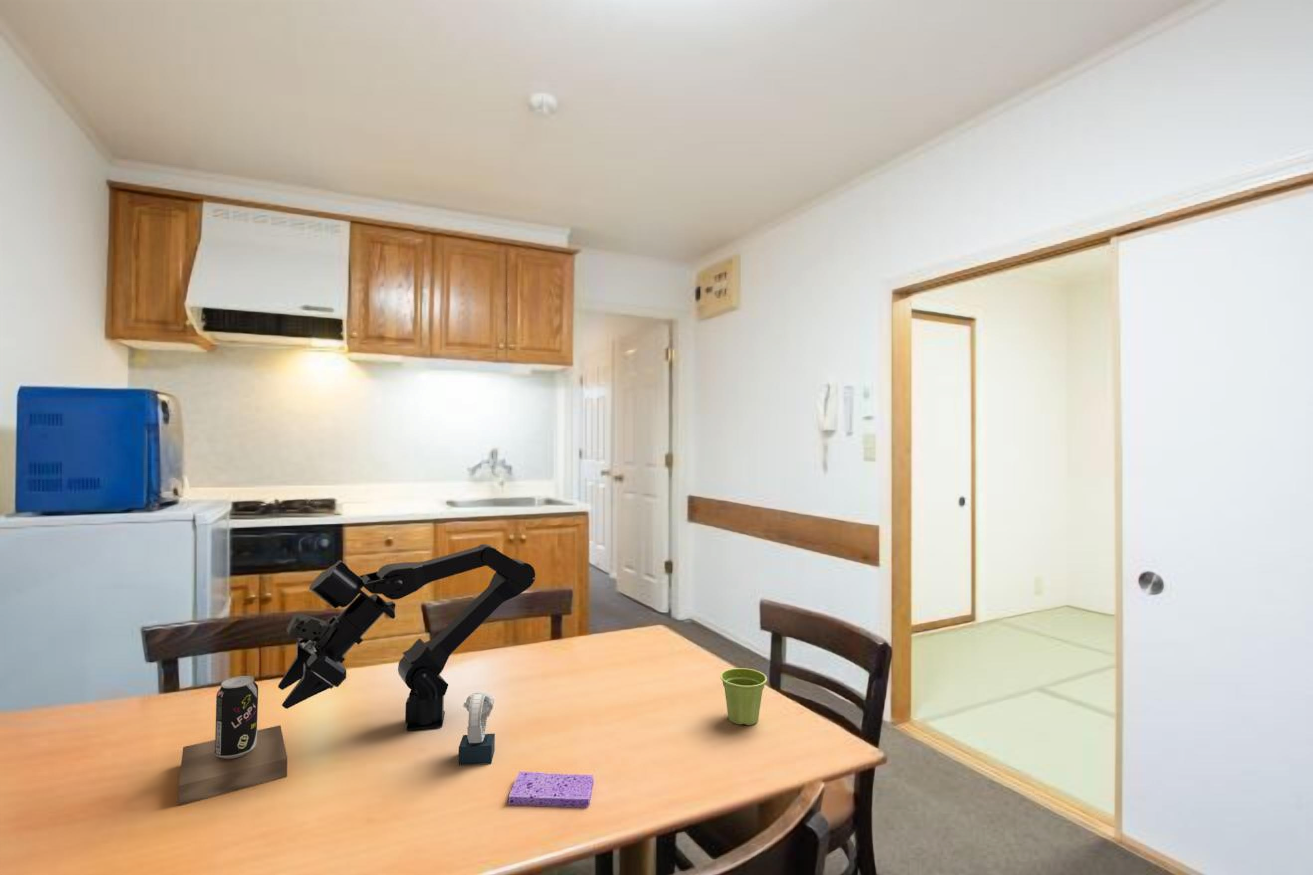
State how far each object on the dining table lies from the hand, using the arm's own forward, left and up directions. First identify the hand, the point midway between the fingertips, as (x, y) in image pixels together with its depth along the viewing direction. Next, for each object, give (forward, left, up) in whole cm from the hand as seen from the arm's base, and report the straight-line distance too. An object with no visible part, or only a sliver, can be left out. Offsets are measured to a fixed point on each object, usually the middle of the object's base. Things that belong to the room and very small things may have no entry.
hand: (281, 697), depth 104 cm
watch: (-33, +7, -11) cm, 35 cm away
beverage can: (+6, +3, -8) cm, 10 cm away
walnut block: (+6, +2, -11) cm, 13 cm away
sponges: (-45, +21, -11) cm, 51 cm away
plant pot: (-85, +4, -11) cm, 86 cm away
